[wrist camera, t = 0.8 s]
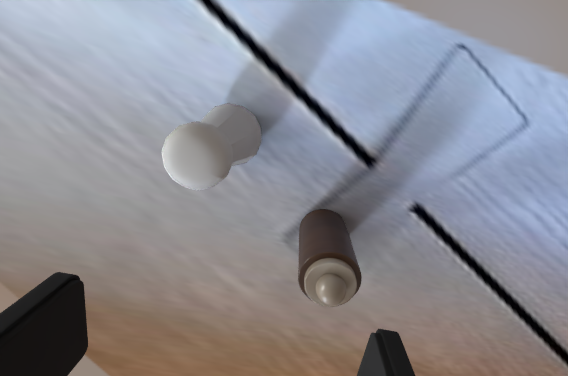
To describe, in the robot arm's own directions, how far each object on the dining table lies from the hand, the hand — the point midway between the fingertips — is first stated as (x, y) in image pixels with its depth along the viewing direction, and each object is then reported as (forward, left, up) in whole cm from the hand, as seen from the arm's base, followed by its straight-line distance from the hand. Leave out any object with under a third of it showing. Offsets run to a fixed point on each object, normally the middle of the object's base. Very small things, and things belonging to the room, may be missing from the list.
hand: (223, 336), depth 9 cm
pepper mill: (+6, +6, -23) cm, 24 cm away
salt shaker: (-3, -5, -23) cm, 23 cm away
